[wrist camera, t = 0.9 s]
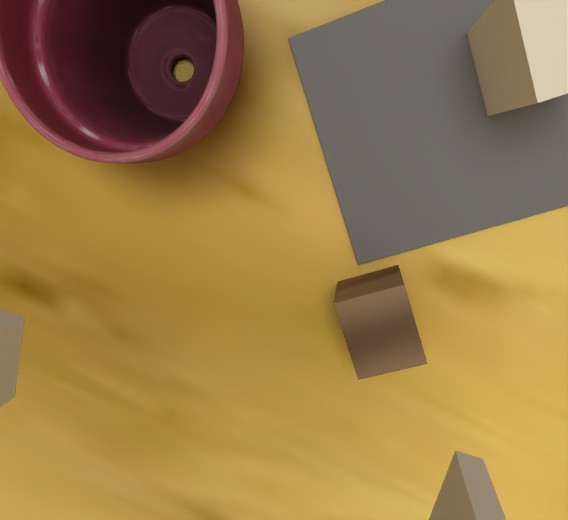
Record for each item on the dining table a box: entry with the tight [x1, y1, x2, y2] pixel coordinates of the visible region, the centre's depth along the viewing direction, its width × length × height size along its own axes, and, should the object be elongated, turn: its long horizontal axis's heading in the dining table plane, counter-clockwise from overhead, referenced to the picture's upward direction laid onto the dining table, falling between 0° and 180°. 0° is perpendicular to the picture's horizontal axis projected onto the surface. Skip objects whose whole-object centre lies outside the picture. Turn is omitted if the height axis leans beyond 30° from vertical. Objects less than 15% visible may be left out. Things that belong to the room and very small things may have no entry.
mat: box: [288, 0, 568, 265], centre depth 36 cm, size 18×23×1 cm
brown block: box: [334, 265, 427, 380], centre depth 38 cm, size 6×5×6 cm
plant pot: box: [0, 0, 244, 163], centre depth 33 cm, size 14×14×13 cm
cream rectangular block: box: [466, 0, 568, 116], centre depth 30 cm, size 6×5×11 cm
